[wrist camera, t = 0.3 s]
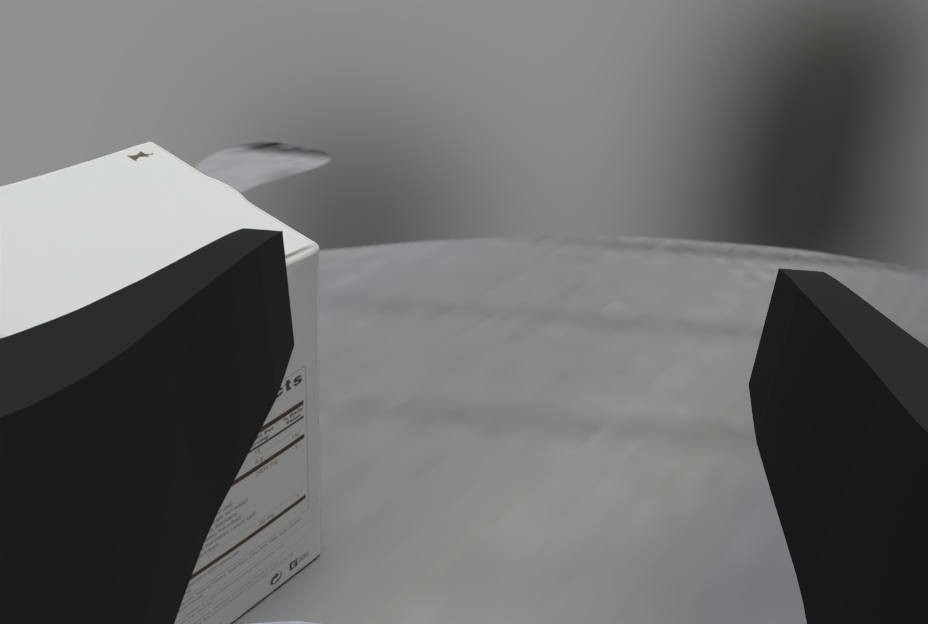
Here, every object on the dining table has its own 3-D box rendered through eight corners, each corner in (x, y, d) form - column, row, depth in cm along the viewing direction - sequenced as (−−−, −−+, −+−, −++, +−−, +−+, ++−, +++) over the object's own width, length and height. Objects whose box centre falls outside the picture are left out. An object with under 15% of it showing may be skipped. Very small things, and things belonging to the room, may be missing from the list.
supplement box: (-5, 553, 32) (-134, 215, 23) (196, 438, 38) (153, 132, 29) (123, 713, 28) (23, 370, 19) (329, 556, 33) (326, 236, 25)
